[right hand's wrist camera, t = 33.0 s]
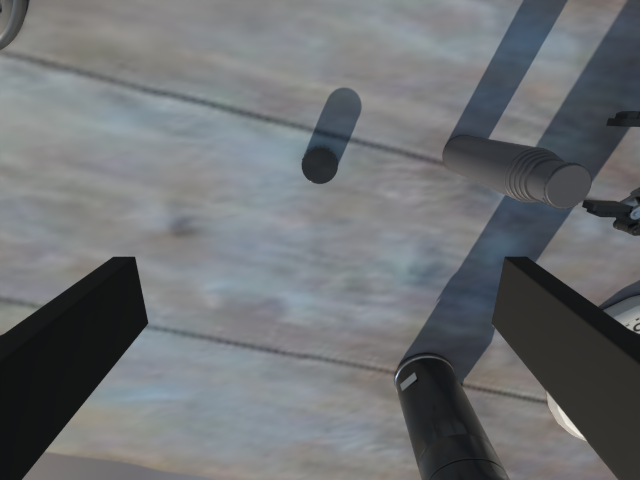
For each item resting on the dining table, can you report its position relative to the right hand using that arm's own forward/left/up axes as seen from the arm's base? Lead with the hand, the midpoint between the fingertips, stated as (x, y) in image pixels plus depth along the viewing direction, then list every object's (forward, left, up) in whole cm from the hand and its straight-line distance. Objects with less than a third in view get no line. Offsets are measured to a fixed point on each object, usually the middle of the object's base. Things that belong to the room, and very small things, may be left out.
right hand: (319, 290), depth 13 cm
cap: (0, 0, -31) cm, 31 cm away
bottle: (+3, +17, -33) cm, 37 cm away
